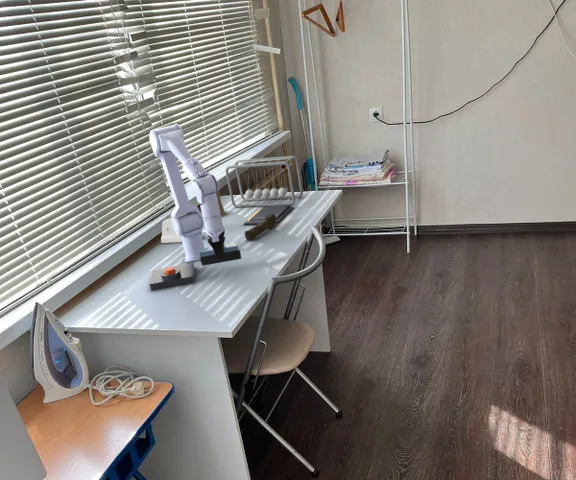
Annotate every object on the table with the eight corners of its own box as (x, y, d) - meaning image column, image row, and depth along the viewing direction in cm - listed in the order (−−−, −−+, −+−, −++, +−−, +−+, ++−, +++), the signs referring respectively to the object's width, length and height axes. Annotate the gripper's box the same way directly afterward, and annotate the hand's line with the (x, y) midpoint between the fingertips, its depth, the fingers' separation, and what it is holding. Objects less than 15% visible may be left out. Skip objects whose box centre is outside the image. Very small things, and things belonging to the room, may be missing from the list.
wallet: (276, 219, 235) (241, 220, 241) (277, 224, 236) (242, 225, 242) (294, 203, 250) (260, 205, 256) (294, 207, 251) (261, 209, 257)
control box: (155, 276, 207) (151, 265, 205) (195, 269, 207) (192, 258, 205) (151, 291, 196) (148, 279, 194) (193, 283, 196) (191, 271, 194)
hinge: (160, 243, 238) (157, 216, 236) (166, 243, 243) (164, 217, 240) (198, 241, 233) (196, 214, 231) (204, 240, 237) (201, 214, 235)
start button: (166, 272, 198) (164, 268, 197) (175, 270, 198) (174, 266, 197) (165, 276, 195) (164, 271, 195) (175, 274, 195) (173, 269, 195)
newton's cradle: (232, 208, 266) (223, 166, 257) (242, 200, 274) (234, 160, 265) (295, 205, 254) (288, 161, 245) (304, 197, 262) (298, 155, 253)
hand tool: (253, 241, 222) (251, 229, 220) (245, 240, 225) (243, 228, 222) (282, 224, 235) (280, 212, 233) (274, 223, 237) (272, 212, 235)
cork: (224, 216, 257) (219, 190, 251) (210, 218, 258) (204, 192, 252) (226, 212, 262) (220, 186, 257) (212, 214, 263) (206, 188, 257)
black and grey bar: (202, 261, 201) (199, 248, 199) (241, 254, 201) (238, 241, 199) (202, 266, 198) (199, 252, 195) (241, 258, 198) (238, 245, 195)
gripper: (199, 211, 198) (209, 251, 205) (198, 224, 185) (208, 266, 192) (221, 207, 198) (229, 247, 205) (221, 220, 185) (230, 262, 192)
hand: (220, 256), depth 199 cm, fingers closed on black and grey bar, 4 cm apart
